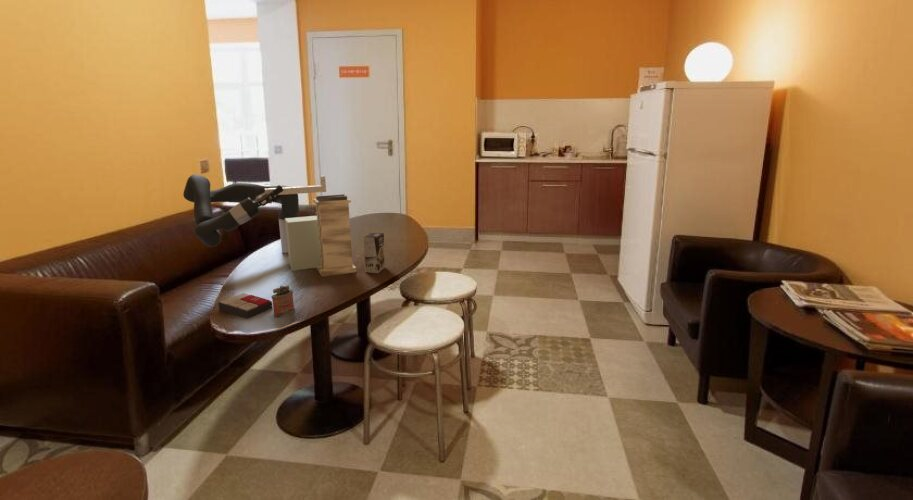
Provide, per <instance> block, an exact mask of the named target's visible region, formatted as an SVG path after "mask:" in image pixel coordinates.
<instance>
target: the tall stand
mask: <svg viewBox="0 0 913 500" xmlns="http://www.w3.org/2000/svg"><path fill="white" fill-rule="evenodd" d="M312 200H313V203H315V209H316V211H315V212H316V216H317V224H318V236H319V249H320V261H321V265H317V268H316V269H317V271H318V273H319V274H320V276H321V277H322V276H323V277H329V276H330V275H331V276H336V275H346V274H351V273H357V267H356V266H355V264H354V263H353V252H352V239H351V238H352V237H351V236H352V235H351V222H350V221H351V220H350V207H349V206H350V205H349V203H352V200H351V199H349V198H348V195H346V194H345V193H344V194H343V193H342V194H329V195H328V194H327V195H316V196H315V198H313V199H312Z"/></svg>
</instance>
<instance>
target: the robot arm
mask: <svg viewBox="0 0 913 500" xmlns="http://www.w3.org/2000/svg"><path fill="white" fill-rule="evenodd" d="M282 187H290V186H287V185H280V184H279V185H271V186H270V185H269V186H267V185H260V184H257V183H255V184H254V183H248V182H235V183H230V184H228V185H226V186H223V187H220V188H219V189H218V188H217V189H214V190H213V189H211V181H210V180H209V179H208V177H206V176H204V175H201V174H192V175H190V176H189V177H188V178H187V180H186V183H185V187H184V190H183V194H182V195H183V198H184V199H185V200H187V201H188V202H190V203H193V217H194V221H195V225H196V226H195V228H194V230H193V232H194V236H195V237H196V238H197V239H199V241H200V242H202V243H203V244H204V246H206V247H208V248H214V247H217V246H219V244H220V243H221V242H222V233H221V230H220V229H222V230H224V231H225V232H228V233H229V232H231V231H233V230H234V229H236V228H238V227H239V226H240V225H243V224H245V223H247V222H248V221H250V220H252V219H253V218H255V217H256V216H257V215H259V214H260V213H261V210H260V209H259V208H260V207H265V206H266V205H267V204H269V203H277V204H279V205H281V211H279V212H278V213H277V214H278V215H277V216H278V217H277V218H278V225H279V235H280V245H281V246H280V247H281V253H284V254H288V245H287V235H286V225H285V218H295V217H299V211H300V207H299V205H300V203H299V194H285V195H278V194H279V193H281V192H282V191H283V188H282ZM265 188H276V189H275V190H273V191H271V192H269V193H265ZM212 203H237V204H236V205H234V206H233V207H231V208H230V209H229V210H227V211H226V212H224V213H222V214H220V215H219V216H215V217H214V212H213V208H212V207H213V206H212Z"/></svg>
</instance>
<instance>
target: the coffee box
mask: <svg viewBox="0 0 913 500" xmlns="http://www.w3.org/2000/svg"><path fill="white" fill-rule="evenodd" d="M363 248H364V249H363V250H364V267H365V273H368V274H369V273H373V274H379V273H380V272H381V271H383V270H384V269H385V268H386V255H385V254H386V253H385V252H386V251H385V234H384V233H383V232H370V233H369V234H367V235H365V236H363Z"/></svg>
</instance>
